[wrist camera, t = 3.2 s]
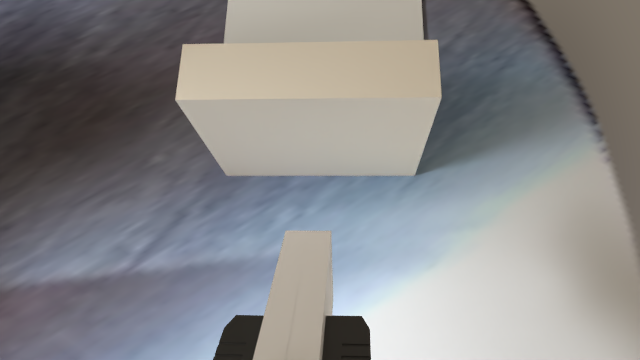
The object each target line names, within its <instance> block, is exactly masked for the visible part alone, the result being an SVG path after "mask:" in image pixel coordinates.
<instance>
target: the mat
mask: <svg viewBox="0 0 640 360" xmlns="http://www.w3.org/2000/svg"><path fill="white" fill-rule="evenodd" d="M402 40H424V35H423V17H422V0H228V7H227V16H226V26H225V35H224V44H229V43H286V42H344V41H402Z"/></svg>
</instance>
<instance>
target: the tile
mask: <svg viewBox="0 0 640 360" xmlns="http://www.w3.org/2000/svg"><path fill="white" fill-rule="evenodd" d="M441 98H442V95H441V80H440V66H439V51H438V40H402V41H344V42H286V43H229V44H183V47H182V54H181V62H180V69H179V76H178V83H177V91H176V98H175V100H176V102H177V103H178V105H179V106H180V108H181V109H182V111H183V112H184V114H185V115H186V117H187V118H188V120H189V121H190V122H191V124H192V125H193V127H194V128H195V130H196V131H197V133H198V134H199V136H200V137H201V139H202V140H203V142H204V143H205V145H206V146H207V147H208V149H209V150H210V152H211V153H212V155H213V156H214V158H215V159H216V161H217V162H218V164H219V165H220V167H221V168H222V170H223V171H224V172H225V174H226V175H227V176H415V174H416V171H417V168H418V165H419V162H420V159H421V156H422V153H423V150H424V147H425V145H426V142H427V139H428V136H429V133H430V130H431V127H432V124H433V121H434V118H435V115H436V112H437V110H438V107H439V104H440V101H441Z"/></svg>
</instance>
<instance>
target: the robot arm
mask: <svg viewBox="0 0 640 360" xmlns="http://www.w3.org/2000/svg"><path fill="white" fill-rule="evenodd" d="M332 308H333V276H332V242H331V231H286V232H285V236H284V239H283V243H282V247H281V251H280V255H279V259H278V263H277V267H276V271H275V275H274V278H273V282H272V286H271V290H270V294H269V298H268V302H267V306H266V310H265V313H264V316H250V315H236V316H235V317H234V318H233V319H232V320H231V321H230V322H229V323H228V324H227V325H226V327H225V328H224V330H223V333H222V336H221V339H220V342H219V345H218V347H217V350H216V353H215V357H214V358H213V360H371V352H370V329H369V327H368V326H367V324H366V322H365V321H364V319H363V318H362V316H332Z"/></svg>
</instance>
